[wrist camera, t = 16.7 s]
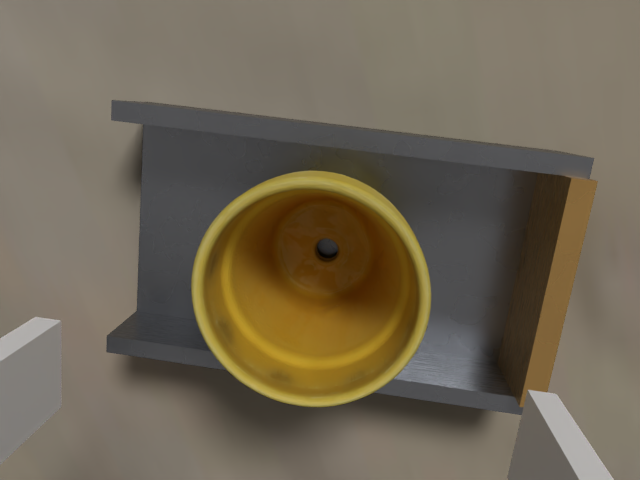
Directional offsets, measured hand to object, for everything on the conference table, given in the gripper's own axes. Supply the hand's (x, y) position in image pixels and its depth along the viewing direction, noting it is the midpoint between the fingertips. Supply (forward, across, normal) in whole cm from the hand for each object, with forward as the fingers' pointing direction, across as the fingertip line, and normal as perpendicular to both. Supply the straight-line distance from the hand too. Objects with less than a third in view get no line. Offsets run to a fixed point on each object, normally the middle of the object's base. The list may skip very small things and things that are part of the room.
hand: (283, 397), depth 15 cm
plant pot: (+18, 0, 0) cm, 18 cm away
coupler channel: (+19, 0, 0) cm, 19 cm away
